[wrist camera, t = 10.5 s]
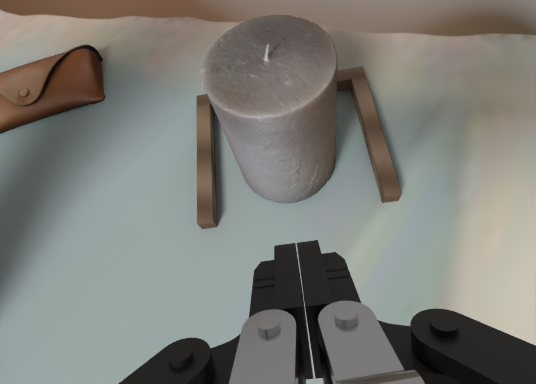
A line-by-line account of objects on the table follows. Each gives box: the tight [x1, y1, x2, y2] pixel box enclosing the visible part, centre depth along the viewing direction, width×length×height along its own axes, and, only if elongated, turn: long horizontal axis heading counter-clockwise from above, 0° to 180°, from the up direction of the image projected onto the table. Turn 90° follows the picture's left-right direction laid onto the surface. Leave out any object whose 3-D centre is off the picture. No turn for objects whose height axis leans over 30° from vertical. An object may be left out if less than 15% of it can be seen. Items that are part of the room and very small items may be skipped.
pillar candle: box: [200, 15, 337, 203], centre depth 30 cm, size 10×10×15 cm
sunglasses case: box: [0, 45, 105, 134], centre depth 45 cm, size 18×7×7 cm
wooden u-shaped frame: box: [197, 67, 402, 229], centre depth 36 cm, size 16×19×2 cm
